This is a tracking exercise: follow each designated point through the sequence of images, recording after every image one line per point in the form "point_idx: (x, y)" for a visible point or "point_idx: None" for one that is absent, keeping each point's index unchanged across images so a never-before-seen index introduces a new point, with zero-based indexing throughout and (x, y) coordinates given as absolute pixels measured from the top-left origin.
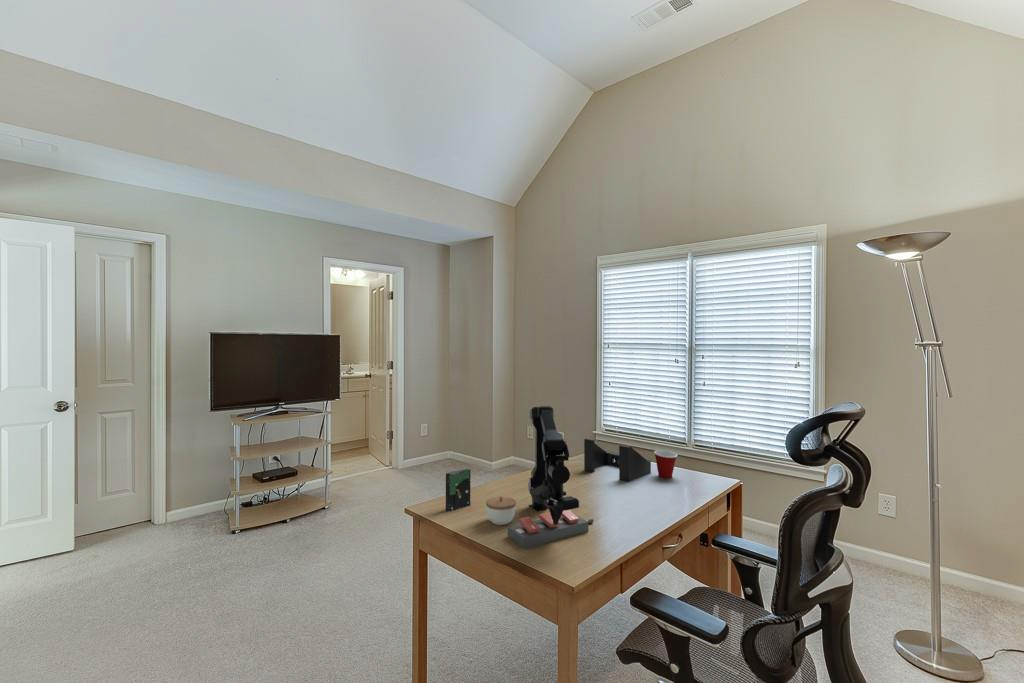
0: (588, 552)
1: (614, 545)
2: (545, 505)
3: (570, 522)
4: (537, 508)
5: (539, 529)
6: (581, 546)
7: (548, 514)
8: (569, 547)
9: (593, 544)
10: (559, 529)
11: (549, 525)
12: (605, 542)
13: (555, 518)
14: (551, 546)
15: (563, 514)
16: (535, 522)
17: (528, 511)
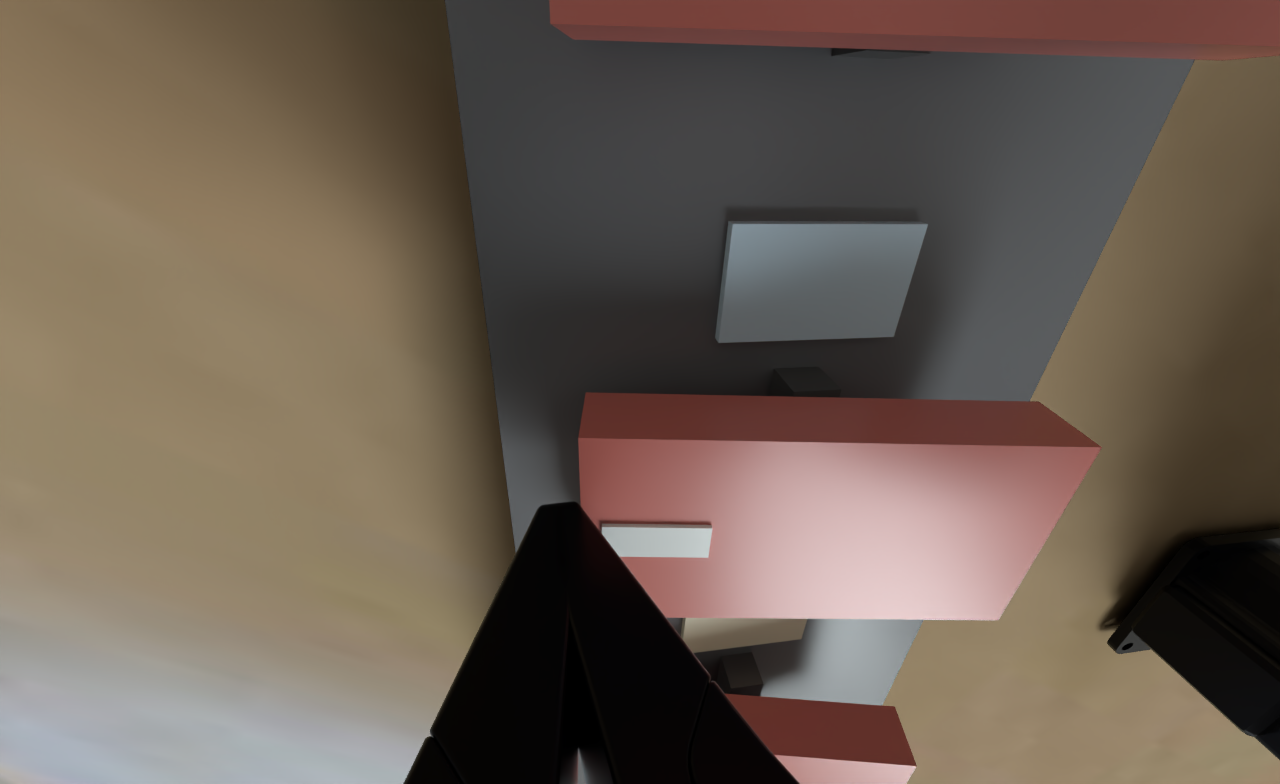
0: (6, 522)
1: (177, 753)
2: (1176, 640)
3: None
4: (1217, 563)
5: (561, 30)
6: (227, 529)
7: (933, 595)
8: (231, 399)
9: (251, 638)
10: (511, 502)
11: (624, 407)
12: (269, 723)
13: (481, 645)
14: (347, 178)
15: (769, 747)
16: (1006, 294)
17: (1270, 476)
